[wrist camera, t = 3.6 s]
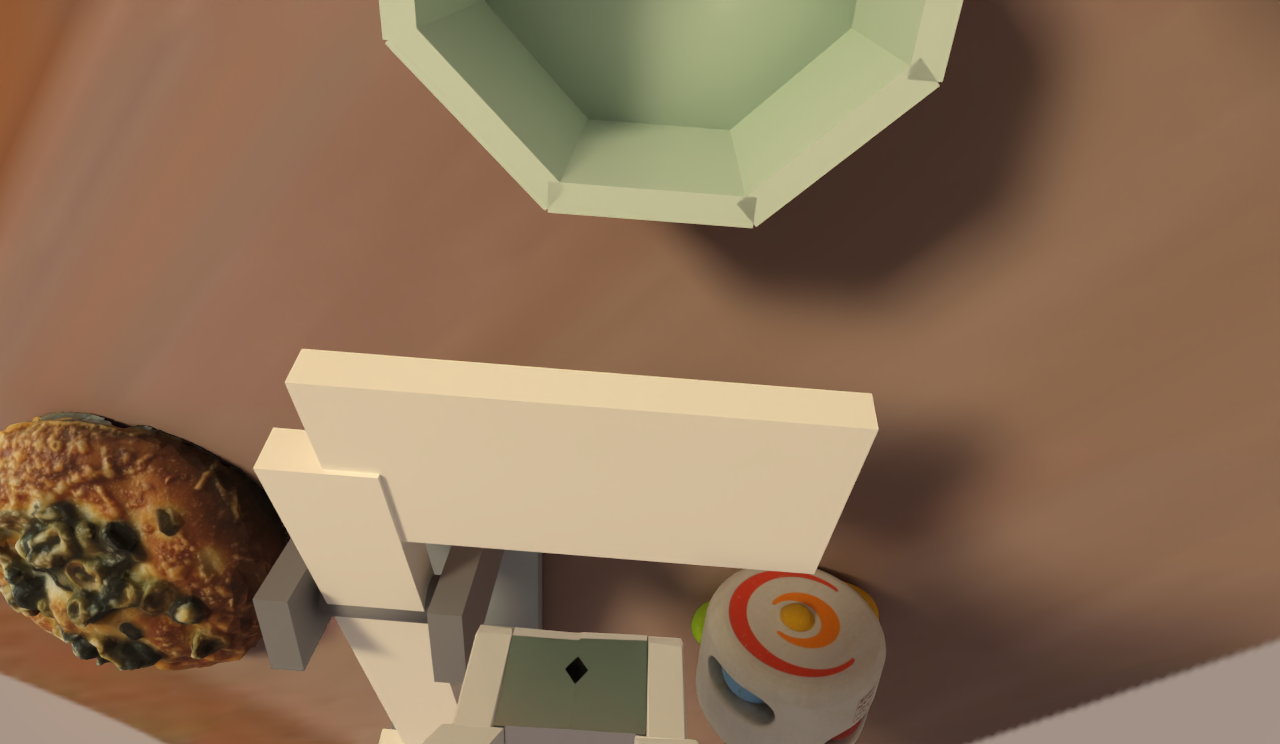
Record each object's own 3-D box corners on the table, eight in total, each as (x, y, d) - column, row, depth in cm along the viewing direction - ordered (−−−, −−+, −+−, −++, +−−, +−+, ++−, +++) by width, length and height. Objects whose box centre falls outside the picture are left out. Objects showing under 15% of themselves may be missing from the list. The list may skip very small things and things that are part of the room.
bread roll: (367, 564, 28) (291, 685, 24) (204, 643, 33) (118, 754, 29) (114, 338, 24) (-29, 435, 20) (-26, 466, 29) (-164, 565, 25)
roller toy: (700, 537, 27) (704, 679, 22) (882, 552, 27) (928, 698, 22) (687, 624, 29) (688, 771, 24) (854, 639, 29) (890, 789, 24)
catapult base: (349, 370, 24) (213, 555, 17) (541, 385, 24) (485, 577, 17) (407, 757, 34) (338, 971, 27) (542, 768, 34) (507, 985, 27)
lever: (154, 328, 14) (59, 461, 12) (870, 385, 14) (897, 528, 12) (408, 768, 33) (388, 846, 31) (705, 792, 33) (705, 872, 31)
